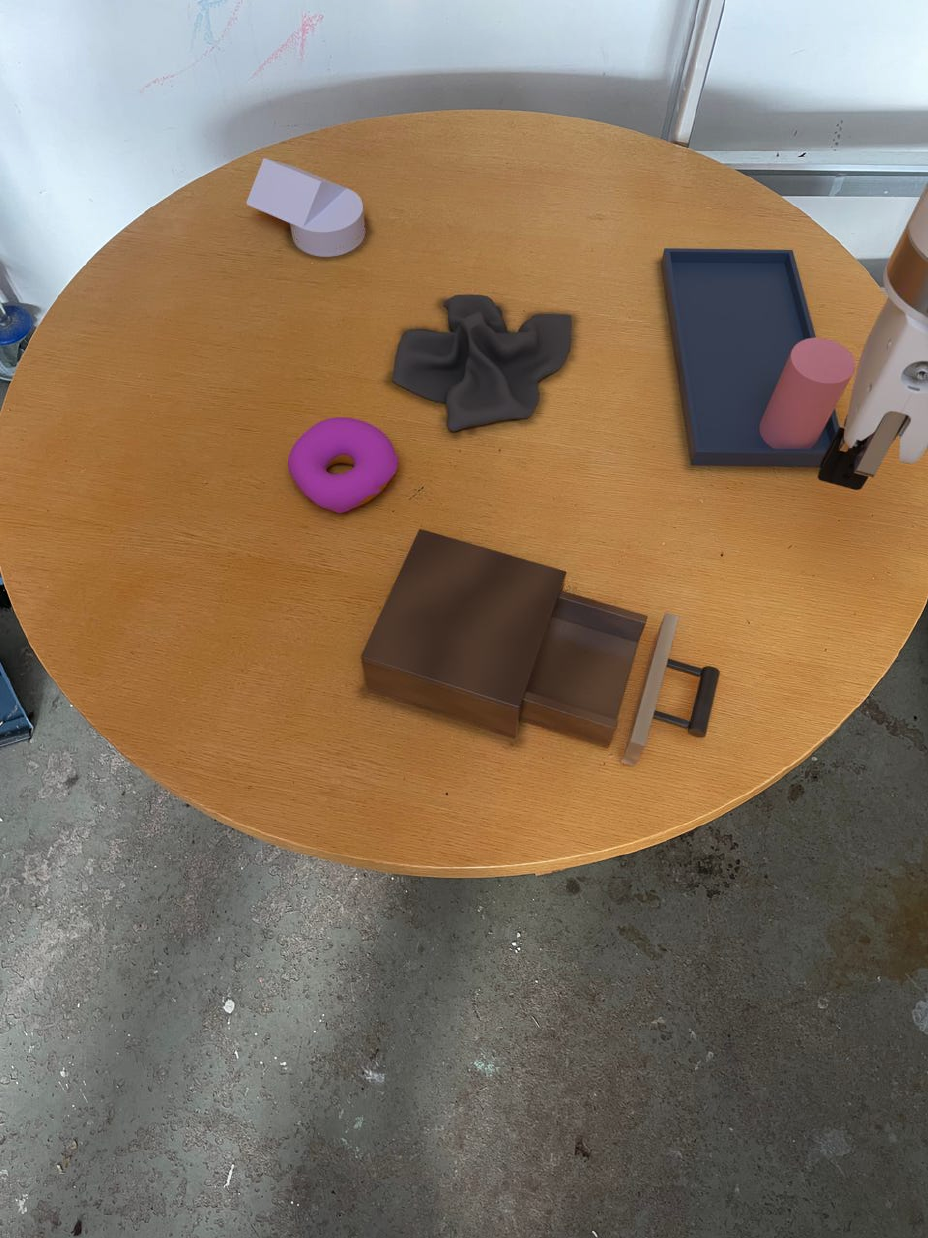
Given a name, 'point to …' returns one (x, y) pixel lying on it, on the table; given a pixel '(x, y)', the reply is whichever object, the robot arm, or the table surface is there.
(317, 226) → the wedge on round base
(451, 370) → the cloth
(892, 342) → the robot arm
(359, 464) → the donut
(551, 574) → the cabinet
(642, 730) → the drawer
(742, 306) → the tray
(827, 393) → the cylinder
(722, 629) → the table surface
